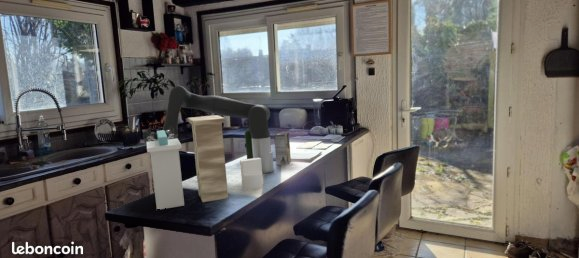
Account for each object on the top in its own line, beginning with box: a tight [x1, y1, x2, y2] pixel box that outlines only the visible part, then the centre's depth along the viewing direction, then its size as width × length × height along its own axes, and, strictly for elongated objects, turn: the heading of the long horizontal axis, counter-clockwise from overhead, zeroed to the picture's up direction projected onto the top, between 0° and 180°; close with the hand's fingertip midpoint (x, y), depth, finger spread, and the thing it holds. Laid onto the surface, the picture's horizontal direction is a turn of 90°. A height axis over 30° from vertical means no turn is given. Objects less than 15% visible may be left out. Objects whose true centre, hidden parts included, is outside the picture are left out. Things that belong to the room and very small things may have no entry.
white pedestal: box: [146, 138, 185, 210], centre depth 153 cm, size 18×12×24 cm, turn 20°
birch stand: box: [187, 114, 229, 203], centre depth 158 cm, size 18×12×32 cm, turn 20°
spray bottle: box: [244, 118, 253, 159], centre depth 227 cm, size 10×10×25 cm
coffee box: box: [273, 132, 292, 166], centre depth 212 cm, size 9×6×16 cm
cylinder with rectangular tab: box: [239, 158, 264, 190], centre depth 170 cm, size 9×9×12 cm
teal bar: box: [156, 129, 168, 146], centre depth 157 cm, size 24×3×3 cm, turn 20°
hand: (160, 128), depth 165 cm, fingers open, 8 cm apart
